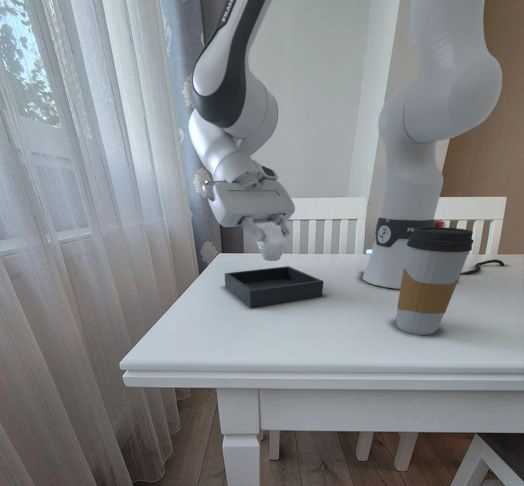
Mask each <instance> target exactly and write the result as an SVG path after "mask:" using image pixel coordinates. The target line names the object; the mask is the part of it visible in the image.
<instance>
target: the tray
mask: <svg viewBox="0 0 524 486" xmlns="http://www.w3.org/2000/svg"><path fill="white" fill-rule="evenodd" d="M224 283H225V284H224V285H225V289H226V290H227V291H229V292H230V293H231V294H233V295H234V296H235V297H236V298H237V299H239V300H240V301H241V302H242V303H243V304H245V305H246V306H247V307H248V308H257V307H258V308H259V307H265V306H270V305H276V304H277V305H278V304H282V303H289V302H294V301H295V302H296V301H300V300H301V301H303V300H308V299H313V298H314V299H315V298H319V297H323V289H324V280H322V279H319V278H317V277H315V276H313V275H310V274H308V273H305V272H303V271H301V270H298V269H296V268H294V267H291V266H289V265H286V266H278V267H277V266H276V267H269V268H260V269H259V268H258V269H252V270H243V271H242V270H241V271H233V272H224Z"/></svg>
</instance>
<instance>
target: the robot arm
mask: <svg viewBox="0 0 524 486" xmlns="http://www.w3.org/2000/svg"><path fill="white" fill-rule="evenodd" d="M485 1H486V0H410V9H409V17H408V19H409V20H408V35H409V37H410V40H411V41H412V42H413V43H414V44H416V46H417V49H418V57H419V58H418V59H419V75H418V78H416V79H414V80H412V81H410V82H408V83H406V84H404V85H402V86H401V87H400V88H398V90H397V91H396V92H394V94H392V96H390V97H389V98H388V99H387V101H386V102H385V103H384V105H383V106H382V108H381V110H380V113H379V116H378V121H377V129H378V133H379V137H380V139H381V140H382V141H383V144H384V149H385V150H384V151H385V161H386V163H385V164H386V165H385V166H386V174H385V176H386V177H385V187H384V192H383V199H382V205H381V210H380V217H378V218H377V222H376V225H375V231H374V234H375V240H374V242H373V244H372V248H371V249H366V254H369V258H368V261H367V265H366V267H365V268H364V270H363V275H362V278H361V279H362V280H363V281H364V282H366V283H368V284H371V285H374V286H378V287H382V288H390V289H397V290H398V289H399V290H400V287H401V281H402V275H403V269H404V266H405V260H406V254H407V248H408V246H407V243H408V241H409V236H411V235H412V234H413V231H414V228H418V227H445V228H446V225H447V223H446V221H439V220H435V215H436V212H437V208H438V204H439V200H440V196H441V192H442V189H443V186H444V176H443V173H442V172H441V170H440V169H439V168H438V165H437V159H436V149H437V148H436V147H437V142H439V141H444V140H450V139H453V138H456V137H459V136H460V135H463V134H464V133H466V132H468V131H471V130H472V129H474V128H476V127H478V126H480V125H481V124H482V123H483V122H484V121H486V120H487V118H488V117H489V116H490V114H491V113H492V112H493V111H494V109H495V107H496V105H497V103H498V101H499V98H500V96H501V93H502V88H503V72H502V71H503V70H502V67H501V65H500V63H499V61H498V60H497V59H496V57H495V56H493V55H492V54H491V53H490V51H489V50H488V47H487V44H486V39H485V32H484V31H485V30H484V11H485ZM272 2H273V0H224V3H223V5H222V8H221V10H220V13H219V15H218V18H217V20H216V22H215V25H214V28H213V29H212V32H211V34H210V36H209V38H208V40H207V41H206V43H205V44H204V47H203V48H202V50H201V52H200V53H199V55H198V57H197V59H196V60H195V62H194V65H193V69H192V72H191V79H190V80H191V83H190V84H191V85H190V87H191V94H192V95H191V96H192V100H193V104H194V107H195V108H194V109H193V111H192V112H191V114H190V117H189V120H188V133H189V138H190V141H191V143H192V146H193V148H194V150H195V152H196V154H197V156H198V158H199V159H200V161H201V163H202V164H203V166H204V167H205V169H206V170H207V171H208V172H209V173H210V174H211V177H212V179H213V180H212V179H210V180H209V179H208V180H205V182H203V184H202V191H203V193H204V194H205V196H206V198H207V201H208V204H209V207H210V209H211V211H212V213H213V216H214V218H215V219H216V221H217V223H218V224H219V225H221V226H222V227H224V228H233V227H241V228H242V229H243V231H245V232H247V233H248V234H249V235H251V236H252V237H253V238H254V240H255V242H256V243H257V242H260V241H263V240H264V239H265V238H266V234H265V233H264V228H260V227H258V226H257V225H262V224H272V223H273V224H274V225H278V226H279V227H280V228H281V232H282V234H283V236H284V237H285V238H287V237H289V235H290V234H291V232H290V230H289V228H288V226H287V221H289V219H290V218H291V217H292V216H293V215H294V213H295V212H296V205H295V204H294V202H293V199H292V198H291V195H290V194H289V193H288V191H287V190H286V188H285V187H284V185H282V183H281V182H280V181H278V178H279V176H278V174H277V172H276V171H275V170H274V169H271V168H270V167H267V166H265V165H262V164H261V163H259V162H258V161H256V160H255V159H253V158H252V155H254V154H255V153H256V152H257V151H258V150H259V149H260V148H261V147H263V145H264V144H266V142H268V140H269V139H270V138H271V137H272V135H273V134H274V132H275V130H276V128H277V124H278V120H279V106H278V102H277V100H276V98H275V96H274V95H273V94H272V93H271V91H270V90H269V89H268V88H267V87H266V86H265V85H264V83H263V82H262V81H261V80H259V78H258V77H257V76H256V75H255V74H254V73H253V72H252V71H251V70H250V66H249V57H250V56H249V55H250V51H251V49H252V46H253V45H254V42H255V40H256V38H257V36H258V33H259V31H260V29H261V27H262V24H263V22H264V19H265V17H266V16H267V12H268V11H269V8H270V6H271V3H272ZM487 264H499V266H501V267H505V266H506V264H505V263H504V262H503V260H500V259H489V260H484V261H480V262H476V264H474V267H475V269H471V270H467V271H465V272H461V273H460V276H461V275H465V276H467V275H471V274H475V273H478V272H481V269H482V268H481V267H480V266H483V265H487Z"/></svg>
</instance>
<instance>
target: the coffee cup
mask: <svg viewBox="0 0 524 486" xmlns="http://www.w3.org/2000/svg"><path fill="white" fill-rule="evenodd" d="M473 233H474V231H473V230H469V229H465V228H457V227H456V228H455V227H446V226H445V227H418V228H414V231H413V234H412V235H411V236H409V241H408V243H407V246H408V248H407V254H406V260H405V266H404V269H403V275H402V281H401V287H400V289H399V292H398V293H399V294H398V299H397V300H398V301H397V310H396V316H395V322H396V327H397V328H398V329H400V330H402V331H403V332H405V333H408V334H412V335H413V334H414V335H419V336H427V335H433V334H434V333H436V331H438V330H439V328H440V325H441V322H442V320H443V317H444V315H445V314H446V312H447V310H448V306H449V304H450V301H451V299H452V297H453V294H454V292H455V290H456V288H457V284H458V282H459V280H460V278H461V275H460V273H462V270H463V268H464V266H465V263H466V260H467V258H468V256H469V254H470V252H471V251H473V250H472V249H473V244H474V242H475V241H474V239H473Z"/></svg>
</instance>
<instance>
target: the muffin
mask: <svg viewBox="0 0 524 486" xmlns="http://www.w3.org/2000/svg"><path fill="white" fill-rule="evenodd" d="M263 230H264V233H265V234H266V238H265V239H264V240H263V241H260V242H257V241H256V244H257V246H258V250H259V252H260V254H261V256H262V258H263V260H264V261H267V262H276V261H279V260H280V259H281V258H282V255H283V254H284V252H285V250H286V246H287V244H288V239H287V237H284V236H283V234H282V232H281V228H280V227H279V226H278V225H275V224H274V222H272V223H271V224H267V225H265V226H264V228H263Z"/></svg>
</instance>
